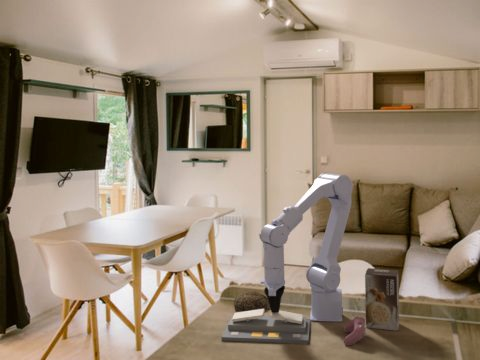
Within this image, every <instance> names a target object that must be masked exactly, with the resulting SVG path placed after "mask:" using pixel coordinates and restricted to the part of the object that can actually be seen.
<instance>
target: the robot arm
mask: <svg viewBox="0 0 480 360" xmlns="http://www.w3.org/2000/svg"><path fill="white" fill-rule="evenodd" d="M354 186H355V185H354V184H353V182H352V180H351V178H350V177H349V176H348V175H346V174H336V173H330V172H322V173H321V174H319V175H318V177H317V178H314V181H313V184H312V186H311V187H310V188H309V189H308V190H307V191H306V192H305V194H303V195H302V197H300V198H299V200H298V201H297V203H296V204H295V205H289V206H285V207H284V208H282V212H281V213H280V214H279V215H278V216H276V218H273V220H271V222H270V223H268V224H266V225H264V226H263V227H262V229H261V231H260V233H259V234H258V236H259V239H260V241H261V242H262V245H263V246H262V247H263V268H264V272H263V273H264V279H261V280H260V285H264V286H265V288H264V294H265V295H266V296H265V297H267V298H268V300H269V304H270V307H269V309H270V311H271V312H273V313H279V310H281V309H280V308H281V302H282V296H283V294H284V293H285V290H286V286H285V285H286V280H285V245H286V244H287V241H288V240H289V235H291V232H292V231H294V230H295V229H296V227H298V225H299V224H300V223H301V222H302V221H303V217H304V214H305V213H306V212H307V211H308V210H309V209H310V208H311V207H313V206H314V205H315V204H316V203H317V202H319V201H320V200H321V199H322V198H326V199H328V201H329V202H330V205H331V209H330V213H329V217H328V220H327V224H326V228H325V232H324V236H323V238H322V242H321V246H320V249H319V254H318V255H317V256H315V257H313V259H312V260H311V263H310V266H309V267H308V268H307V270H306V272H305V273H306V274H305V279H306V280H307V282H308V283H309V286H310V289H311V292H310V293H311V294H310V295H311V296H310V297H311V298H310V299H311V304H310V305H311V310H310V311H309V312H310V314H309V315H310V316H309V319H310V322H334V323H337V322H338V323H341V322H343V314H344V307H343V293H342V289H341V288H338V287H339V286H340V284H341V266H340V264H339V262H338V257H339V252H340V249H341V244H342V243H343V238H344V234H345V230H346V226H347V222H348V219H349V216H350V211H351V208H352V204H353V203H352V202H353V201H352V193H353V189H354Z"/></svg>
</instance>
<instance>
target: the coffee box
mask: <svg viewBox="0 0 480 360" xmlns="http://www.w3.org/2000/svg"><path fill="white" fill-rule="evenodd" d="M399 277H400V276H399V270H397V269H395V270H394V269H382V268H373V267H372V268H369V267H368V268H367V269H366V271H365V274H364V282H365V283H364V285H365V286H364V287H365V289H364V292H365V293H364V294H365V295H364V296H365V297H364V298H365V328H369V329H379V330H380V329H381V330H385V331H386V330H387V331H388V330H390V331H399V327H400V303H399V302H400V301H399V300H400V298H399V297H400V296H399V295H400V294H399V291H400V290H399V287H400V286H399V285H400V284H399V283H400V282H399V281H400V280H399Z"/></svg>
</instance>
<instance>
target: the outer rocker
mask: <svg viewBox="0 0 480 360" xmlns="http://www.w3.org/2000/svg"><path fill="white" fill-rule="evenodd" d="M265 312H266V310H264V309H258V310H251V311H244V312H242V311H237V312H234V316H233V318H232V322H235V321H242V320H246V321H249V320H250V319H257V318H263V315H265Z"/></svg>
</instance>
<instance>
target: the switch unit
mask: <svg viewBox="0 0 480 360" xmlns="http://www.w3.org/2000/svg"><path fill="white" fill-rule="evenodd" d="M234 314H235V313H234ZM234 314H232V315H231V316H230V317H229V320H228V322H227V325H226V326H225V329H224V331H223V333H222V335H221V339H220V340H221V341H227V342H255V343H276V344H277V343H278V344H280V343H281V344H300V345H301V344H304V345H308V344H309V340H310V339H309V338H310V328H311V327H310V326H311V324H310V323H311V321H310V318H307V316H303V317H302V324H298V323H293V322H287V323H285V322H284V321H283V320H278V319H273V318H270V316H271V314H269V315H265V314H264V315H263V318H257V319H250V320H249V321H246V320H242V321H235V322H232V318H233V316H234Z"/></svg>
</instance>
